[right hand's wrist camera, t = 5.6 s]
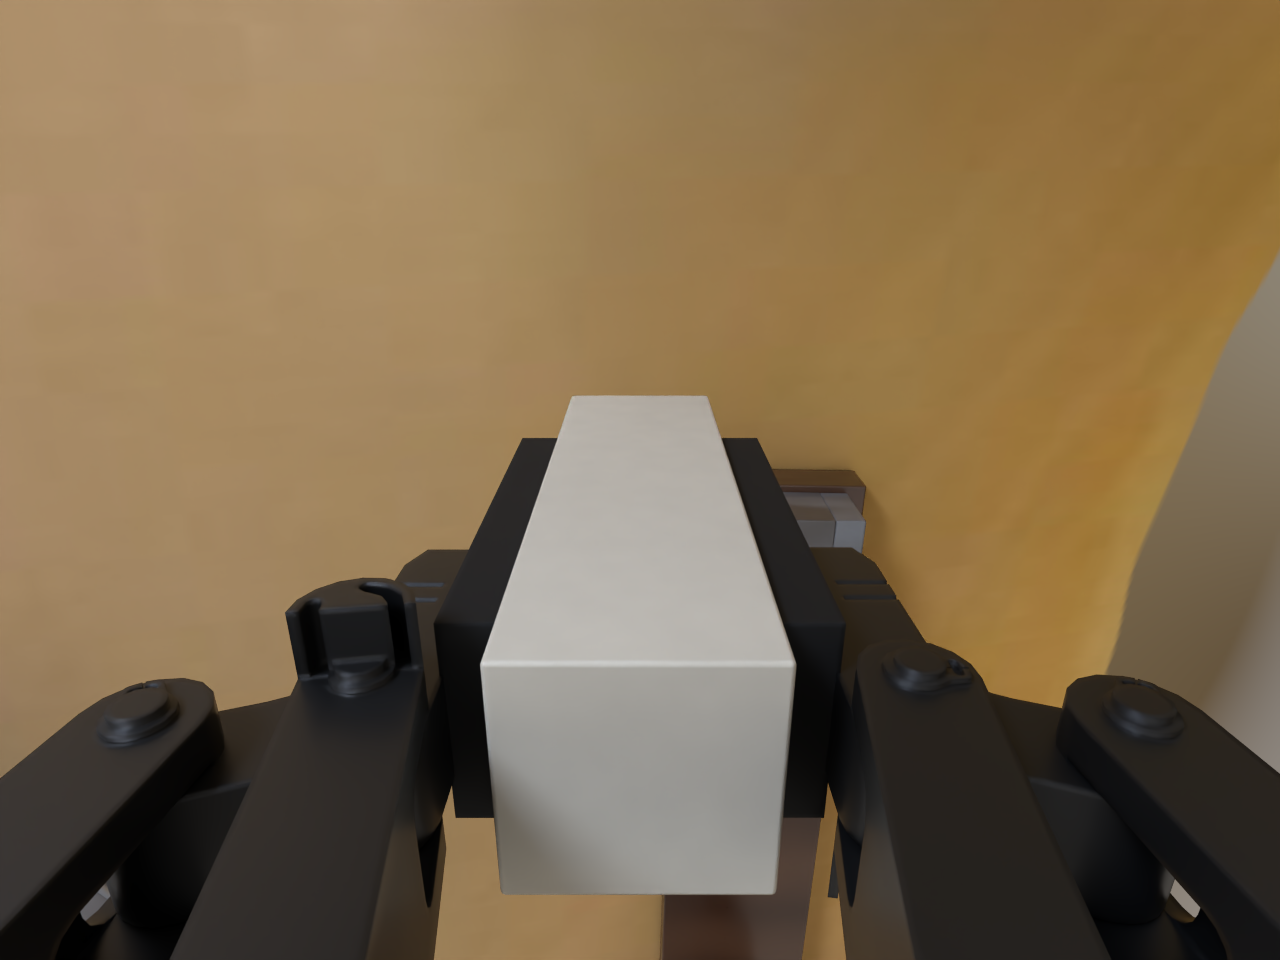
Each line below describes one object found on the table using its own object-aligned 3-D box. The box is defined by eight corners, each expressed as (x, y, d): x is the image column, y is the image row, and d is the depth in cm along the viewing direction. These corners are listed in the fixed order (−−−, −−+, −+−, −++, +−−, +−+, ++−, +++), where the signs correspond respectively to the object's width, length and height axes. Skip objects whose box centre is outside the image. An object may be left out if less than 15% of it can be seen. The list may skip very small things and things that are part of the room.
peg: (703, 520, 17) (777, 897, 8) (575, 519, 17) (499, 896, 8) (707, 394, 16) (798, 662, 7) (571, 395, 16) (477, 663, 7)
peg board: (782, 1027, 47) (808, 1183, 40) (657, 1025, 47) (660, 1181, 40) (854, 470, 34) (914, 548, 26) (678, 467, 34) (688, 545, 26)
